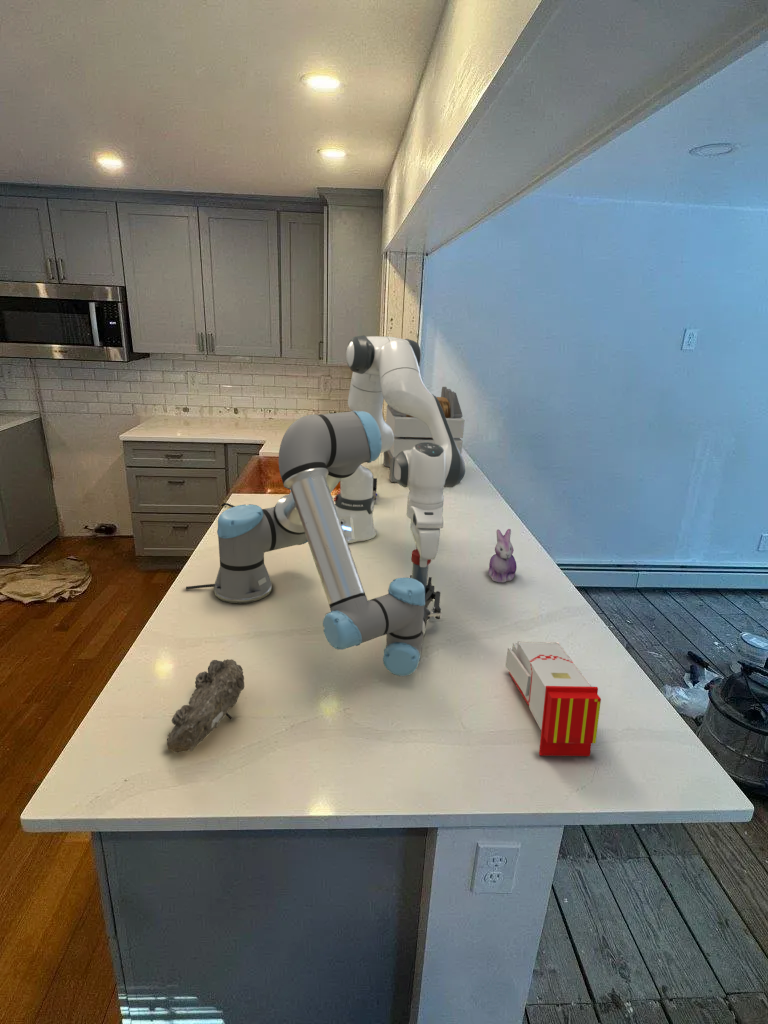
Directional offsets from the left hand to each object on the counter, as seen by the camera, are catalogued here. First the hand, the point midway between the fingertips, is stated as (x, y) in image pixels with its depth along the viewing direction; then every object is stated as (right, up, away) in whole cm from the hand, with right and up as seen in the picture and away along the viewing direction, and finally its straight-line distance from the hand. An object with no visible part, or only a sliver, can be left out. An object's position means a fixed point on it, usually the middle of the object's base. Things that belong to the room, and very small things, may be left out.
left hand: (420, 580), depth 152 cm
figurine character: (-16, +24, +82) cm, 87 cm away
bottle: (-1, -8, -3) cm, 8 cm away
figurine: (+26, -1, +19) cm, 32 cm away
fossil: (-43, -21, -44) cm, 65 cm away
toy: (+22, -21, -37) cm, 48 cm away
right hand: (0, +6, -8) cm, 10 cm away
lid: (0, +8, -8) cm, 11 cm away
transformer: (+7, +37, +123) cm, 129 cm away
